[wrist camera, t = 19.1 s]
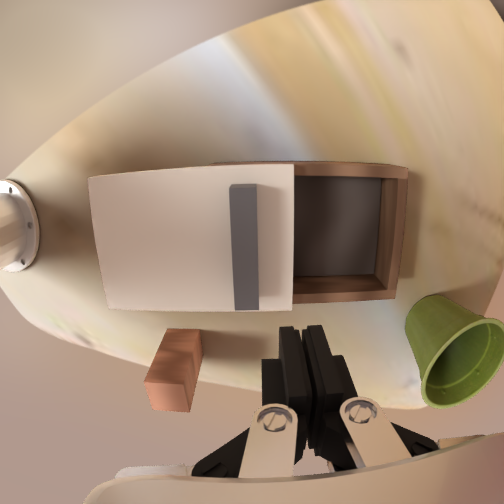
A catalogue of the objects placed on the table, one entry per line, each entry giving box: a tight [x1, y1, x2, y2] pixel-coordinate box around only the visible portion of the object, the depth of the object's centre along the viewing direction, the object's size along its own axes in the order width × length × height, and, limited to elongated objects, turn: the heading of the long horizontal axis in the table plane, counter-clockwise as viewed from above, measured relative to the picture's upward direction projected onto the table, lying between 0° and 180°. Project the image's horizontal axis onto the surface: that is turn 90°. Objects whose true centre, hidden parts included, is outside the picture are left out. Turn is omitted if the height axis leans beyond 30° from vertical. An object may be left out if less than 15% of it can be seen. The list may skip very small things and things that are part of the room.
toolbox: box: [207, 161, 408, 304], centre depth 30 cm, size 18×13×5 cm
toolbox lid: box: [87, 164, 294, 312], centre depth 26 cm, size 18×13×4 cm
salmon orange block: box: [144, 329, 203, 412], centre depth 33 cm, size 4×4×10 cm
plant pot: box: [405, 295, 504, 409], centre depth 31 cm, size 12×12×11 cm
